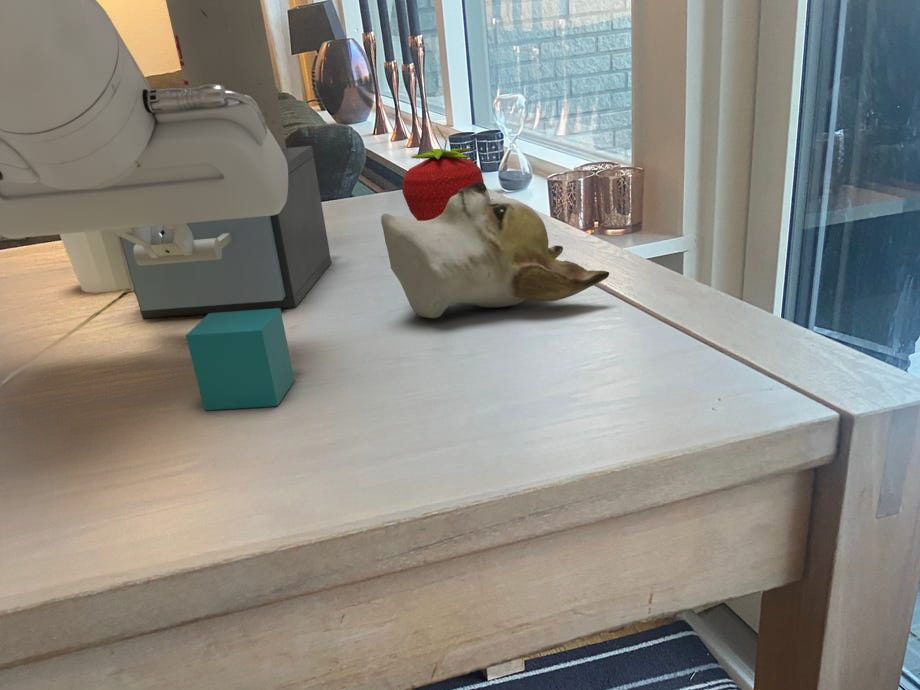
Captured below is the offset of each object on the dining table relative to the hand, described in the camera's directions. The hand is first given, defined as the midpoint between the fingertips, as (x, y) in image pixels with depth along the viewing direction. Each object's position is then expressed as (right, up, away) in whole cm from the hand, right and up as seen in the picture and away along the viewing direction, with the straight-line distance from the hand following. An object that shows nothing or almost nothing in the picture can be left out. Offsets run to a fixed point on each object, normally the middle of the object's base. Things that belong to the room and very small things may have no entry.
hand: (173, 247), depth 67 cm
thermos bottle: (0, +11, +27) cm, 29 cm away
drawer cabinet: (+1, +2, +14) cm, 15 cm away
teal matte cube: (+8, -13, -9) cm, 17 cm away
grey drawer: (+1, +1, +10) cm, 10 cm away
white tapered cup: (-11, +4, +19) cm, 22 cm away
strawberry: (+19, +8, +20) cm, 29 cm away
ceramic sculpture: (+22, -3, +3) cm, 23 cm away
